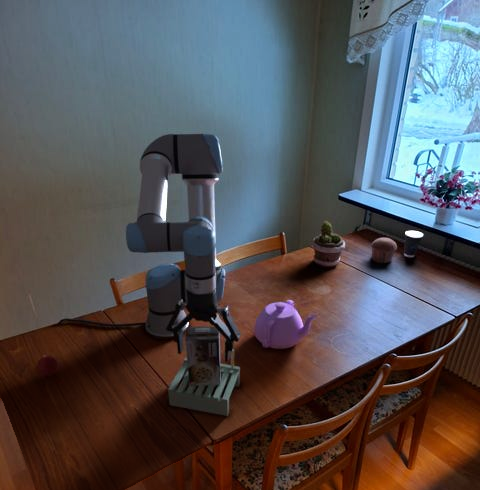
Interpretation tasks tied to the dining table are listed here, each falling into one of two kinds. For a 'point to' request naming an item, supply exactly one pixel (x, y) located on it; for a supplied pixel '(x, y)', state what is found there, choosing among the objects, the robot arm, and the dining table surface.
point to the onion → (47, 365)
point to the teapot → (281, 325)
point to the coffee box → (203, 356)
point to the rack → (206, 401)
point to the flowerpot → (327, 247)
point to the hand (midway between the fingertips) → (204, 355)
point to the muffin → (383, 250)
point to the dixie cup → (412, 243)
